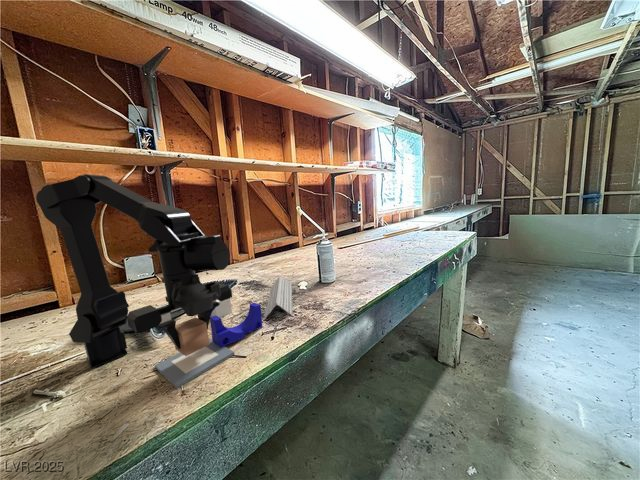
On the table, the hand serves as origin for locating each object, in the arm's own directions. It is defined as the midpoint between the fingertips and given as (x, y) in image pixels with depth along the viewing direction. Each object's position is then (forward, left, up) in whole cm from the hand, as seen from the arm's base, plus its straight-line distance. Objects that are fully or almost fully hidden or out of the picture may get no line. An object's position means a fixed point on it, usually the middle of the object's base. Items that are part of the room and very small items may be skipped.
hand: (191, 342), depth 53 cm
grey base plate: (0, 0, -4) cm, 4 cm away
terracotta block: (0, 0, -1) cm, 1 cm away
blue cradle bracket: (+11, 0, -4) cm, 12 cm away
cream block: (+16, +18, -4) cm, 24 cm away
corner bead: (+33, +10, -5) cm, 35 cm away
